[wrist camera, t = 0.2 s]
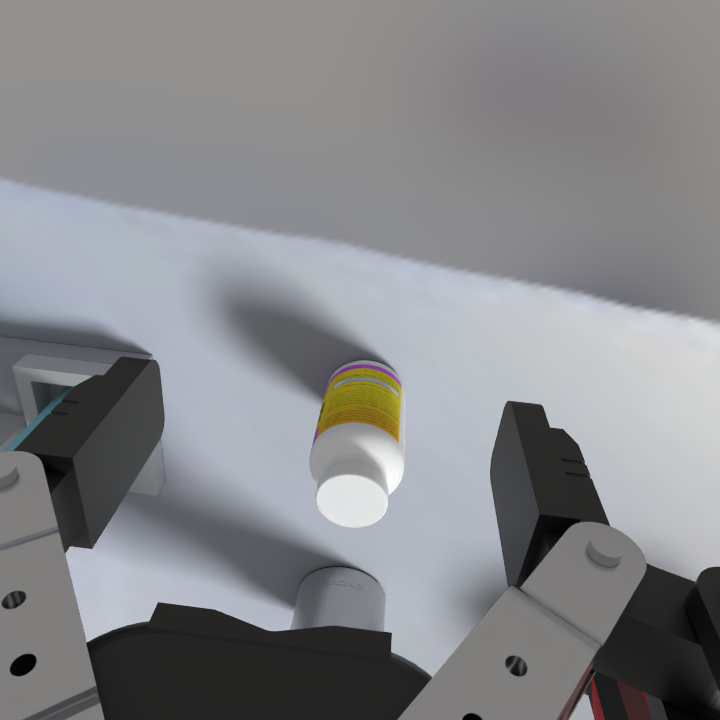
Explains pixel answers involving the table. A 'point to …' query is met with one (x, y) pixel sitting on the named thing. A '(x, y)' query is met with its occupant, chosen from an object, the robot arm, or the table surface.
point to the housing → (57, 390)
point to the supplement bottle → (359, 443)
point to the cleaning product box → (616, 700)
